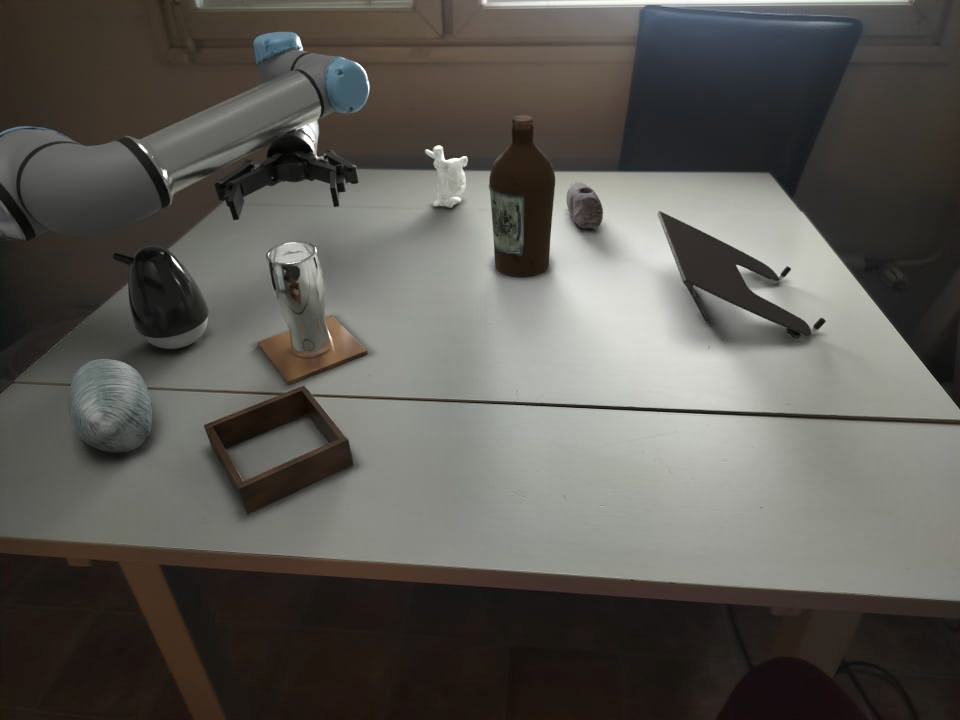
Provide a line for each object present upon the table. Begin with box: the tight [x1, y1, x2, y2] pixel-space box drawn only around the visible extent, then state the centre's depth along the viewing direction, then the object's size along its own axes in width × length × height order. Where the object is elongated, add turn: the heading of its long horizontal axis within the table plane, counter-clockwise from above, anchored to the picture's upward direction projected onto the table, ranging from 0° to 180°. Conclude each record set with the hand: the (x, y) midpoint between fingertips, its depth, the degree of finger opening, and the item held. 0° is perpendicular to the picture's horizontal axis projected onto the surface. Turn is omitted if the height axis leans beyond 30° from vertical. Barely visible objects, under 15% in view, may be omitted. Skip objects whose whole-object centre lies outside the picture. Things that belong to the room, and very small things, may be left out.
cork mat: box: [256, 315, 368, 385], centre depth 97 cm, size 12×12×1 cm
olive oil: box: [488, 114, 556, 278], centre depth 109 cm, size 11×11×25 cm
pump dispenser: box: [112, 244, 210, 350], centre depth 96 cm, size 10×10×15 cm
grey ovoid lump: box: [68, 358, 153, 454], centre depth 82 cm, size 14×10×10 cm
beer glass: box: [265, 241, 333, 358], centre depth 92 cm, size 7×7×15 cm
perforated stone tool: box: [565, 181, 604, 230], centre depth 129 cm, size 15×5×7 cm, turn 6°
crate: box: [203, 384, 354, 515], centre depth 77 cm, size 13×13×4 cm
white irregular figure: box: [424, 144, 469, 209], centre depth 136 cm, size 8×7×12 cm
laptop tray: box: [657, 210, 827, 340], centre depth 101 cm, size 23×23×9 cm
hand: (284, 204), depth 90 cm, fingers open, 13 cm apart
